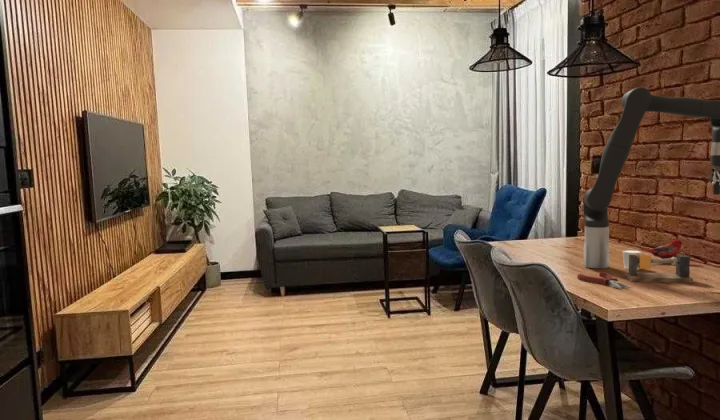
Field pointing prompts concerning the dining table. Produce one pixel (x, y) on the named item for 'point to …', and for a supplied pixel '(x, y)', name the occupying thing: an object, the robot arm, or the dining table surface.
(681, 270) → the stand
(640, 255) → the marker sleeve
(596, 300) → the dining table surface
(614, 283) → the pliers
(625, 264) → the white cup
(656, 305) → the dining table surface
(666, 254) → the decorative bird figurine
